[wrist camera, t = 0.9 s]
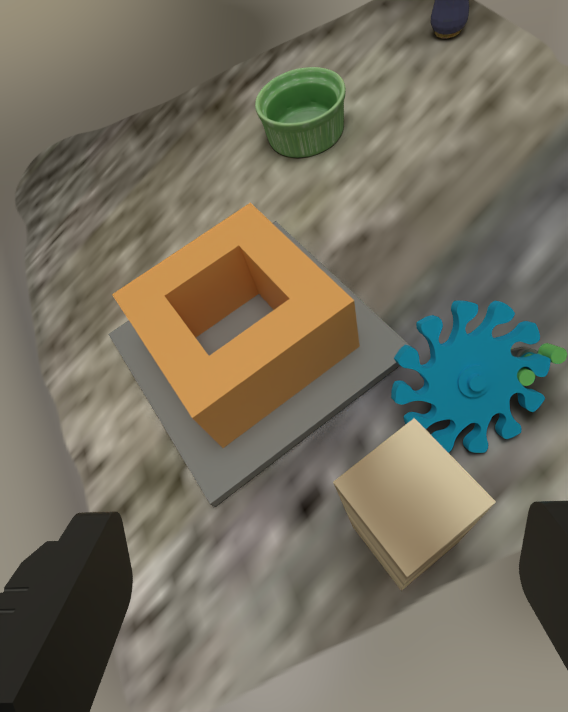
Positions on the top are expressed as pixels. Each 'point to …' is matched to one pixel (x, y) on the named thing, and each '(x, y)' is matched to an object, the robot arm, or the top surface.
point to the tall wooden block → (411, 502)
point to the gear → (475, 374)
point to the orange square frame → (247, 347)
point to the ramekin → (302, 111)
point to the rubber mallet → (449, 17)
